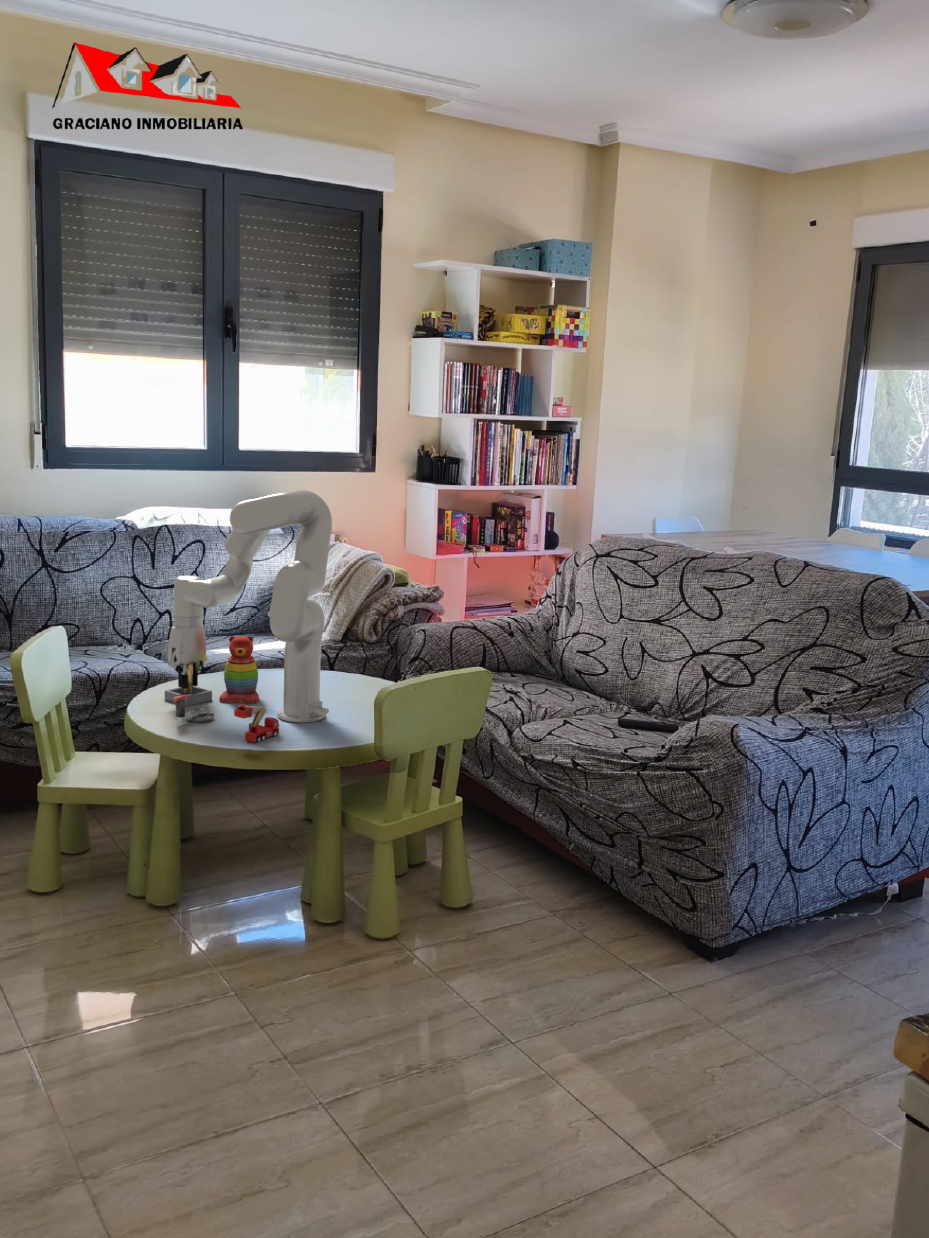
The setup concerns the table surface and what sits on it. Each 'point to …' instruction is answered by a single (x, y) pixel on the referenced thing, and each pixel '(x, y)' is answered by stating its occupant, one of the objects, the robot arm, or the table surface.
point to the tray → (189, 695)
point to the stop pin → (189, 678)
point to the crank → (181, 709)
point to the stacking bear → (240, 672)
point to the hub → (202, 718)
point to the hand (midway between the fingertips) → (188, 685)
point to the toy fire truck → (257, 723)
